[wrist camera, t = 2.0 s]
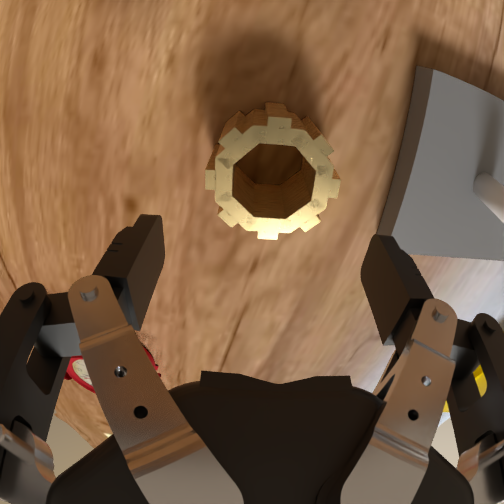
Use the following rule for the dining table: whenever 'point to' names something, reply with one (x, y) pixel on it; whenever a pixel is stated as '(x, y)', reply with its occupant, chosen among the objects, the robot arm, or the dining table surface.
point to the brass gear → (265, 195)
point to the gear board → (449, 172)
